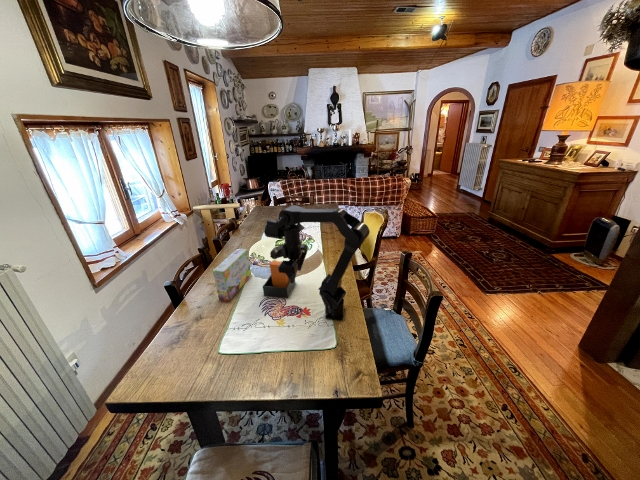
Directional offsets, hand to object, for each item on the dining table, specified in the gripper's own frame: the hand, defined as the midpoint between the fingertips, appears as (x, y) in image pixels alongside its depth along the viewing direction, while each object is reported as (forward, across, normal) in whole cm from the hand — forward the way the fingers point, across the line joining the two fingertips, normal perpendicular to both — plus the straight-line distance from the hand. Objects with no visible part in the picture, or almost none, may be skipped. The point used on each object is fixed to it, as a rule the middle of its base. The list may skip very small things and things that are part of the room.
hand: (295, 276), depth 99 cm
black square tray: (+13, -8, -11) cm, 19 cm away
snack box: (+13, -7, -32) cm, 35 cm away
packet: (+12, -8, -10) cm, 18 cm away
